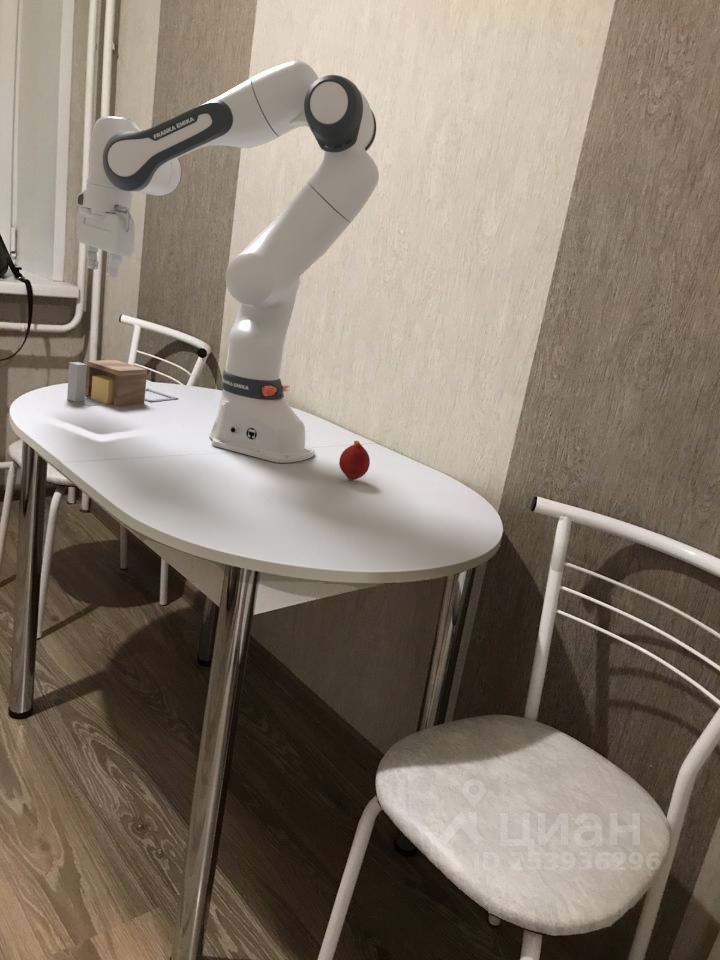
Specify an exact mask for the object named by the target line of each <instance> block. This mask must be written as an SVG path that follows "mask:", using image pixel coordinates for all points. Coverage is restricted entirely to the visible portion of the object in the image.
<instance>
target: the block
mask: <svg viewBox="0 0 720 960" xmlns="http://www.w3.org/2000/svg"><path fill="white" fill-rule="evenodd" d="M115 382H116V376H113V375H97V376H92V391H91V396H90V397H91V398H92V399H95V400H98V401H101V402H104V403H114V395H115Z"/></svg>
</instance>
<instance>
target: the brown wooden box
mask: <svg viewBox="0 0 720 960" xmlns="http://www.w3.org/2000/svg"><path fill="white" fill-rule="evenodd" d="M86 364H87V373H86V388H85V397H91V391H92V376H97V375H113V376H116V382H115V395H114V404H113V406H115V407H122V406H132V405H141V404H145V398H146V391H145V389H147V388H146V387H147V376H148V369H147V368H143V367H140V366H137V365H134V364H131V363H127V362H124V361H120V360H117V359H103V360H102V359H101V360H87V362H86Z"/></svg>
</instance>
